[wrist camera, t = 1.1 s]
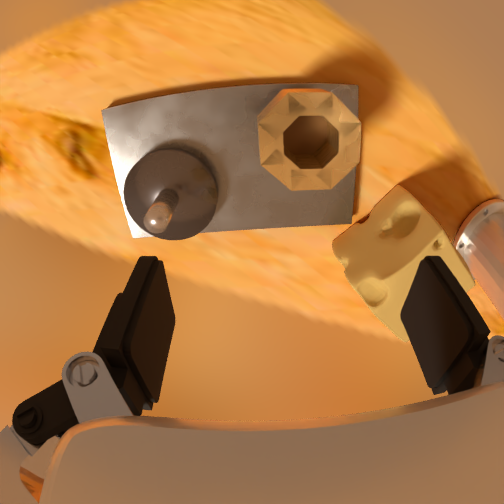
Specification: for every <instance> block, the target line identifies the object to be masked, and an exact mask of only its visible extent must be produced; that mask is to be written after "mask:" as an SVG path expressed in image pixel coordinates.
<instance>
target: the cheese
mask: <svg viewBox="0 0 504 504" xmlns="http://www.w3.org/2000/svg"><path fill="white" fill-rule="evenodd" d="M332 248H333V252H334V255H335V256H336V258H337V259H338V261H339V262H340V263H341V264H342V265H343V266H344V267H345V271H344V273H345V276H346V278H347V280H348V282H349V284H350V285H351V286H352V288H353V289H354V290H355V291H356V292H357V293H358V294H359V295H360V296H361V297H362V299H363V300H364V302H365V303H366V305H367V306H368V307H369V309H370V310H371V311H372V313H373V314H374V315H375V316H376V317H377V318H378V319H379V320H380V321H381V322H382V323H383V324H384V325H386V326H387V327H388V328H389V329H390V330H391V331H392V333H393V334H395V335H396V336H397V337H398V338H399V339H400V340H402V341H404V342H408V341H409V340H410V339H409V337H408V335H407V332H406V330H405V328H404V325H403V323H402V321H401V317H400V313H401V309H402V307H403V305H404V302H405V300H406V297H407V295H408V292H409V290H410V287H411V285H412V282H413V280H414V277H415V274H416V272H417V269H418V266H419V263H420V261H421V260H423V259H424V257H425V256H440V257H441V258H442V259H443V261H444V262H445V263H446V265H447V266H448V267H449V269H450V270H451V272H452V273H453V274H454V276H455V277H456V279H457V280H458V282H459V283H460V284H461V286H462V287H463V289H464V290H465V292H466V293H467V292H468V291H469V290H470V289H471V288H473V287H474V286H475V281H474V279H473V277H472V274H471V272H470V269H469V267H468V265H467V263H466V262H465V260H464V258H463V257H462V255H461V254H460V253H459V252H458V250H457V249H456V248H455V247H454V245H453V244H452V243H451V242H450V240H449V238H448V236H447V234H446V233H445V231H444V229H443V228H442V227H441V225H440V224H439V223H438V221H437V220H436V219H435V218H434V217H433V216H432V215H431V214H430V213H429V212H428V211H427V210H426V209H425V208H424V207H423V206H422V204H421V203H420V202H419V201H418V200H417V199H416V198H415V197H414V196H413V195H412V194H411V193H410V192H409V191H407V190H406V189H405V188H403V187H402V186H400V185H399V184H398V185H396V186H395V187H394V188H393V189H392V190H391V191H390V192H389V193H388V194H387V195H386V196H385V197H384V198H383V199H382V200H381V201H380V202H379V203H377V204H376V205H375V206H374V208H373V209H372V211H371V213H370V216H369V218H368V219H367V220H366V221H365V222H364V223H362V224H360V223H355V224H354V225H352V226H351V227H350V228H349V229H347V230H346V231H345V232H344V233H343V234H341V235H340V236H338V237H337V238H336V239H335V240H334V241H333V242H332Z"/></svg>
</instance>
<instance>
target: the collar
mask: <svg viewBox="0 0 504 504" xmlns="http://www.w3.org/2000/svg"><path fill="white" fill-rule="evenodd" d="M299 116H321V117H322V118H323V119H324V120H325V121H326V122H327V142H326V143H325V144H324V145H323V146H322V147H321V148H320V149H319V150H317V151H316V152H315V153H314V154H312V155H293V154H292V153H291V152H290V151H289V150H288V149H287V148H285V147H284V145H283V132H284V131H285V130H286V129H287V128H288V127H289V126H290V125H291V124H292V123H293V122H294V121H295V120H296V119H297V118H298V117H299ZM257 125H258V139H259V153H260V163H261V166H262V167H264V168H265V169H266V170H267V171H268V172H270V173H271V174H272V175H273V176H274V177H276V178H277V179H278V180H279V181H280V182H282V183H283V184H284V185H285V186H286V187H287V188H289V189H290V190H291V191H299V190H324V189H332V188H333V187H334V186H335V185H336V184H337V183H338V182H339V181H340V180H342V179H343V178H344V177H345V176H346V175H347V174H348V173H349V172H350V171H351V170H352V169H353V168H354V167H355V166H356V165H357V164H358V163H359V162H360V147H361V122H360V121H359V120H358V119H357V118H356V116H355V115H354V114H353V113H352V112H351V111H350V110H349V109H348V108H347V107H346V106H345V105H344V104H343V103H342V102H341V101H340V100H339V99H338V98H337V97H336V96H335V95H334V94H333V93H332V92H329V91H326V90H323V89H282V90H281V91H280V92H279V93H278V94H277V95H276V96H275V97H274V98H273V99H272V100H271V101H270V103H269V104H268V105H267V106H266V107H265V108H264V109H263V110H262V111H261V112H260V113H259V114H258V115H257Z"/></svg>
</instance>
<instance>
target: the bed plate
mask: <svg viewBox="0 0 504 504" xmlns="http://www.w3.org/2000/svg"><path fill="white" fill-rule="evenodd" d="M282 89H323V90H326V91H329V92H332V93H333V94H334V95H335V96H336V97H337V98H338V99H339V100H340V101H341V102H342V103H343V104H344V105H345V106H346V107H347V108H348V109H349V110H350V111H351V112H352V113H353V114H354V115H355V116H356V118H357V119H358V85H355V84H338V83H271V84H253V85H239V86H228V87H219V88H210V89H202V90H195V91H188V92H181V93H175V94H169V95H164V96H158V97H153V98H148V99H143V100H138V101H134V102H129V103H125V104H121V105H117V106H113V107H109V108H106V109H103V110H102V116H103V121H104V126H105V131H106V136H107V141H108V146H109V150H110V155H111V159H112V163H113V168H114V172H115V176H116V180H117V184H118V188H119V191H120V195H121V199H122V203H123V206H124V210H125V213H126V217H127V220H128V224H129V227H130V230H131V234H132V237H133V238H141V237H153V235H151V234H149V233H147V232H145V231H144V230H143V229H141V228H140V227H139V226H138V225H137V224H136V223H135V222H134V221H133V219H132V218H131V216H130V215H129V213H128V211H127V209H126V206H125V202H124V195H123V190H124V183H125V180H126V177H127V175H128V173H129V171H130V170H131V168H132V167H133V166H134V165H135V164H136V163H137V162H138V161H139V160H140V159H141V158H142V157H143V156H145V155H146V154H147V153H149V152H151V151H153V150H156V149H159V148H164V147H177V148H182V149H186V150H189V151H191V152H193V153H195V154H196V155H198V156H199V157H201V158H202V159H203V160H204V161H205V162H206V163H207V164H208V165H209V166H210V168H211V169H212V171H213V173H214V175H215V177H216V180H217V183H218V191H219V195H218V202H217V206H216V211H215V214H214V216H213V218H212V220H211V222H210V223H209V224H208V226H207V227H206V228H205V229H204V230H202V231H201V232H200V233H205V232H219V231H234V230H249V229H265V228H281V227H299V226H317V225H337V224H351V223H352V213H353V202H354V190H355V176H356V166H355V167H354V168H353V169H352V170H351V171H350V172H349V173H348V174H347V175H346V176H345V177H344V178H343V179H342V180H340V181H339V182H338V183H337V184H336V185H335V186H334V187H333V188H332V189H324V190H299V191H291V190H290V189H289V188H287V187H286V186H285V185H284V184H283V183H282V182H280V181H279V180H278V179H277V178H276V177H274V176H273V175H272V174H271V173H270V172H268V171H267V170H266V169H265V168H264V167H262V166H261V163H260V153H259V139H258V125H257V115H258V114H259V113H260V112H261V111H262V110H263V109H264V108H265V107H266V106H267V105H268V104H269V103H270V101H271V100H272V99H273V98H274V97H275V96H276V95H277V94H278V93H279V92H280V91H281V90H282Z"/></svg>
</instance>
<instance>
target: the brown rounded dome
mask: <svg viewBox="0 0 504 504" xmlns="http://www.w3.org/2000/svg"><path fill="white" fill-rule="evenodd" d="M326 142H327V122H326V121H325V120H324V119H323V118H322V117H321V116H299V117H298V118H297V119H296V120H295V121H294V122H293V123H292V124H291V125H290V126H289V127H288V128H287V129H286V130H285V131H284V132H283V145H284V147H285V148H287V149H288V150H289V151H290V152H291V153H292V154H293V155H312V154H314V153H315V152H316V151H317V150H319V149H320V148H321V147H322V146H323V145H324V144H325V143H326Z"/></svg>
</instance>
